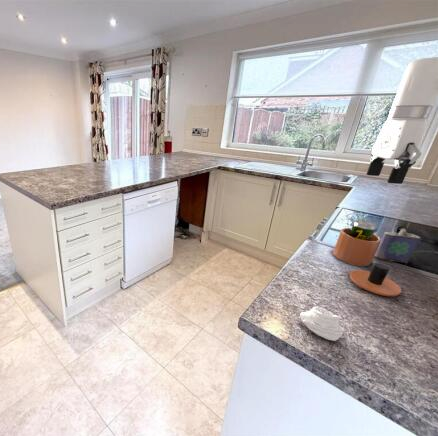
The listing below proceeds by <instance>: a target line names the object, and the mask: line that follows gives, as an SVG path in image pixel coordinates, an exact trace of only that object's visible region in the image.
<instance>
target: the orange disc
mask: <svg viewBox="0 0 438 436" xmlns="http://www.w3.org/2000/svg"><path fill="white" fill-rule="evenodd" d="M389 271H390V267H389V266H388V265H386V264H384V263H380V262H375V263H374V264H373V266H372V268H371V270H370V271H368V270H360V269H357V270H353V271H351V272H350V274H349V278H350V280H351V281H352V282H353V283H354V284H355V285H357V286H358V287H360V288H362V289H364V290H365V291H368V292H370V293H373V294H375V295H380V296H383V297H397V296H399V295H401V293H402V289H401V288H402V287H400V286H399V284H398V283H396V282H395V281H393V280H392V279H389V278H388V277H387V275H388V273H389Z"/></svg>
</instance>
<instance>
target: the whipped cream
mask: <svg viewBox="0 0 438 436" xmlns="http://www.w3.org/2000/svg"><path fill="white" fill-rule="evenodd" d="M299 316H300V319H301V321H302V323H303V324H304V325H305V327H307V328H308V329H309V330H310V332H312V333H314V334H315V335H317V336H319V337H321V338H324V339H325V340H328V341H332V342H333V341H334V342H336V341H337V340H339V339H340V338H341V337H342V336H343V334H344V332H346V329H345V328H344V327H342V325H341V319H342V316H340V315H338V314H337V315H335V314H334V313H333V312H331V311H330V310H327V309H325V308H323V307H320V306H314V307H312V308H311V309H310V310H308V311H302V312H300V313H299Z"/></svg>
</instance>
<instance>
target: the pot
mask: <svg viewBox="0 0 438 436" xmlns="http://www.w3.org/2000/svg"><path fill="white" fill-rule="evenodd" d="M351 228H352V227H343V228H341V229H340V232H339V234H338V238H337V240H336V243H335V246H334V249H333V256H334V257H335V258H336V259H338V260H340V261H342V262H344V263H346V264H350V265H354V266H358V267H369V266H370V265H371V264H372V263H373V261H374V258H375V257H374V256H375V254H376V251H377V249H378V247H379V244H380V242H381V240H382V237H380V236H379V235H377V234H376V233H373V236H372V238H371V240H370V241H365V240H361V239H357V238H354V237H351V236H349V234H350V231H351Z"/></svg>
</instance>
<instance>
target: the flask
mask: <svg viewBox="0 0 438 436" xmlns="http://www.w3.org/2000/svg"><path fill="white" fill-rule="evenodd" d="M420 241H422V238H421V237H420V236H419V235H416V234H414V233H408V232H407V229H403V228H400V231H398V232H390V231H389V232H388V231H386V232H384V233H383V235H382V237H381V242H380V244H379V247H378V249H377V251H376V254H375V256H374V258H376V259H379V260H383V261H384V260H385V261H390V262H400V263H405V264H408V263H409V262H410V260H411V258H412V256H413V255H414V253H415V250H416V248H417V247H418V246H419V243H420Z"/></svg>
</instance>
